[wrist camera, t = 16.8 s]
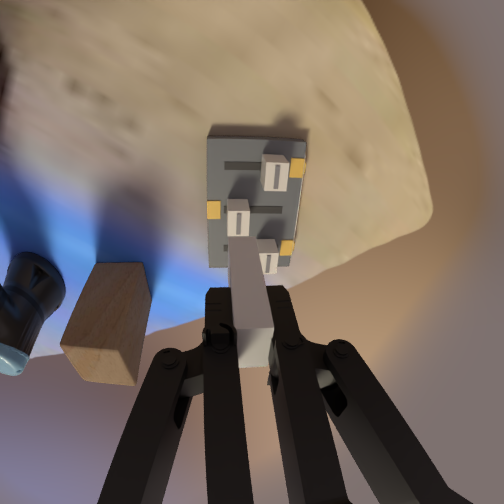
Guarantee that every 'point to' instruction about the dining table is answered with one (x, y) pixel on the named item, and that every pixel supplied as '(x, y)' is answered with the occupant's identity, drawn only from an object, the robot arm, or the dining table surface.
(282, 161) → the slider
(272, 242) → the slider
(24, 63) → the dining table surface
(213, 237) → the console
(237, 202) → the slider
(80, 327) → the wooden block
